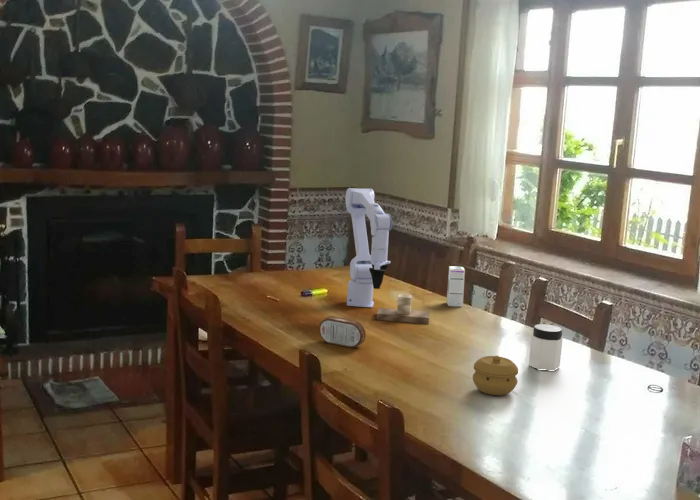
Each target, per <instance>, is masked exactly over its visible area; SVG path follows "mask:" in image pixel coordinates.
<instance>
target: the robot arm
mask: <svg viewBox="0 0 700 500" xmlns="http://www.w3.org/2000/svg"><path fill="white" fill-rule="evenodd" d="M344 198H345V207H346V208H345V209H346V211H347V213H349V214H350V216H351V223H352V230H353V239H354V246H355V254H356V255H355V257H353V258H352V259H351V261H350V262H349V275H350V276H349V277H350V279H351V280H349V281H348V284H347V295H346V306H350V307H360V308H361V307H362V308H373V307H374V304H375V301H373V297H374V289H375V290H376V289H377V290H380V289H381V286H382V284H383V280H384V276H385V272H386V270H387V268H388V265H389V264H391V260H388V252H389V236H390V235H389V233H390V231H391V230H392V227H393V217H392V216H391V214H390V213H385V211H384V210H383V208H382V207H381V205H380V204H379V203H376V202H375V191H374V189H373V188H353V187H352V188H351V187H348V188H347V189H346V192H345V197H344ZM365 215H366V216H367V218H368V220H369V221H370V222H369V223H370V234H371V254H370V249H369V248H370V247H369V241H368V234H367V224H366V216H365Z"/></svg>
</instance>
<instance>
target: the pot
mask: <svg viewBox="0 0 700 500" xmlns="http://www.w3.org/2000/svg"><path fill="white" fill-rule="evenodd" d="M473 369H474V373H472V381H473V383H474V385H475V387H476V388H477V389H478V390H479V391H480V392H482V393H484V394H486V395H491V396H504V395H508V394H510V393H511V392H512V391H513V390H514V389H515V388H516V386H517V385H518V379H517V375H518V374H519V369H518V366H517V364H515V362H514V361H512V360H511V359H509V358H507V357H502V356H499V355H488V356H482V357H480V358H478V359H477V360H476V361H475V362H474V364H473Z"/></svg>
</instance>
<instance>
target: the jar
mask: <svg viewBox="0 0 700 500" xmlns="http://www.w3.org/2000/svg"><path fill="white" fill-rule="evenodd" d="M530 339H531V340H530V347H529V348H530V349H529V358H528V366H529V365H531V366H533V367H535V368H537V369H546V370H555V369H556V368H558V367H559V366H560V365H561V358H562V357H561V355H562V347H563V339H564V338H563V329H562V327H559V326H557V325H554V324H553V325H552V324H548V323H547V324H543V323H540V324H539V323H538V324H535V325H534V326H533V334H532V335H531V338H530ZM559 368H560V367H559Z"/></svg>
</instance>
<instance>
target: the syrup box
mask: <svg viewBox="0 0 700 500" xmlns="http://www.w3.org/2000/svg"><path fill="white" fill-rule="evenodd" d="M465 274H466V270H465V268H464V267H463V266H459V265H458V266H457V265H455V266H454V265H451V266H450V265H449V266H448V276H447V294H446V304H447V306H448V307H457V308H459V307H460V308H463V305H464V294H465V293H464V292H465V291H464V290H465Z"/></svg>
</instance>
